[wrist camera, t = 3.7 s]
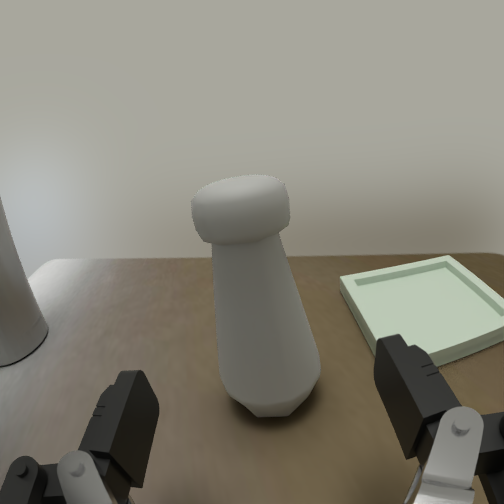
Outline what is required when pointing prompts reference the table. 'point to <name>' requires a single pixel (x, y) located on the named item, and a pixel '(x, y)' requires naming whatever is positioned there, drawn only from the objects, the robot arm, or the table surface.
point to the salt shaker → (256, 295)
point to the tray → (427, 307)
